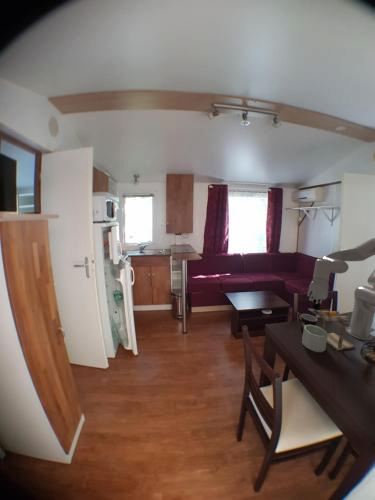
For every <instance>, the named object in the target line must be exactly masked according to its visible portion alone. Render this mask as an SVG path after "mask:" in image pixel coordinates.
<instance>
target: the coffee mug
mask: <svg viewBox="0 0 375 500" xmlns="http://www.w3.org/2000/svg"><path fill="white" fill-rule="evenodd" d="M300 316H301V317H300ZM297 318H298V319H299V322H300V328H301V329H300V331H301V333H303V331H304V325H314V326H317V322H318V318H317V317H316V316H314V315H311V314H308V313H298V315H297Z"/></svg>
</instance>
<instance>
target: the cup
mask: <svg viewBox="0 0 375 500" xmlns="http://www.w3.org/2000/svg"><path fill="white" fill-rule="evenodd" d="M321 327H322V326H321ZM321 327H320V326H317V325H316V326H314V325H304V331H303V332H302V337H301V338H302V340H301V344H302V345H303V346H304V347H305V348H306V349H308V350H309V351H312V352H314V353H323V352H324V351H325V352H326V348H327V344H328V343H327V338H328V331H327V330H324V329H322V328H321Z"/></svg>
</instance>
